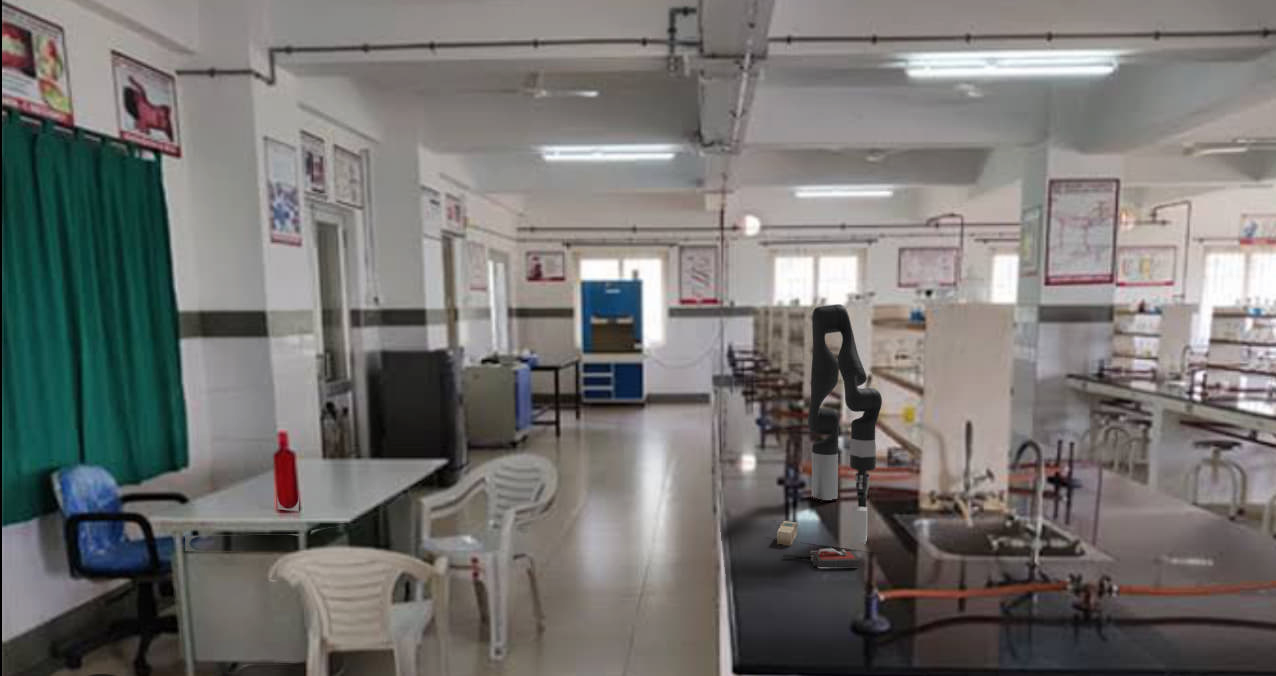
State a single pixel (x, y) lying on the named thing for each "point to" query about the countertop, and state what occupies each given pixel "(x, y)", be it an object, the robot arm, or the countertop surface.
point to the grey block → (859, 524)
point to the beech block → (787, 533)
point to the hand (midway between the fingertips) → (862, 508)
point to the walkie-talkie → (830, 558)
